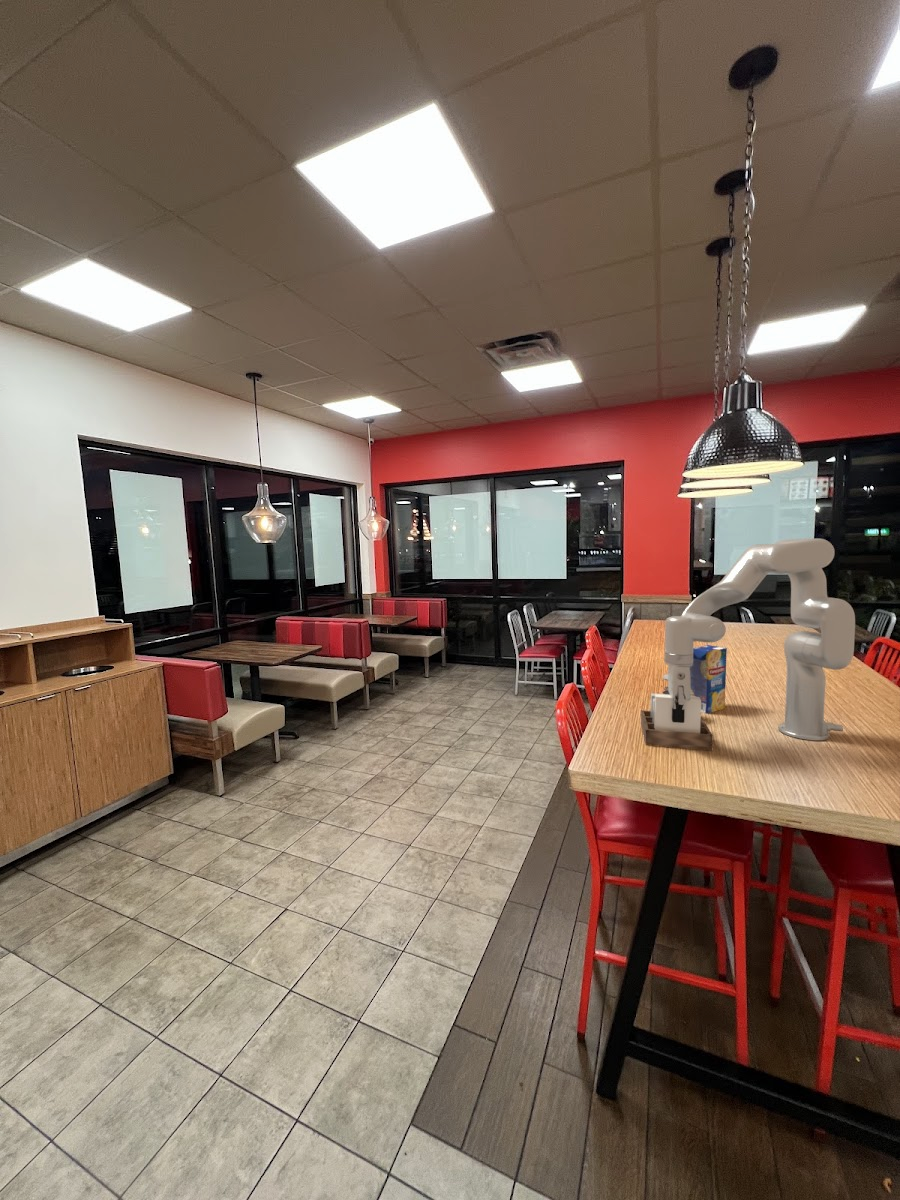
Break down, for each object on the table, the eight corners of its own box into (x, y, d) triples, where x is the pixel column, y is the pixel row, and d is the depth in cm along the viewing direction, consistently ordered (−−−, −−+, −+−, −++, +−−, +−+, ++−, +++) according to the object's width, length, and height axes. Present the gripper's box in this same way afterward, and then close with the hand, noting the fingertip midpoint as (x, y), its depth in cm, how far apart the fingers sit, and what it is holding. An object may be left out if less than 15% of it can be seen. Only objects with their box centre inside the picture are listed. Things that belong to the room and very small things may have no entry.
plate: (698, 730, 140) (699, 697, 139) (700, 733, 137) (701, 699, 136) (654, 726, 143) (654, 694, 142) (655, 729, 141) (655, 696, 140)
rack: (699, 728, 152) (699, 714, 152) (712, 750, 135) (712, 735, 134) (640, 723, 157) (640, 710, 157) (645, 744, 140) (645, 729, 140)
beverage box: (724, 708, 171) (726, 647, 169) (706, 713, 165) (708, 651, 163) (706, 703, 177) (708, 645, 175) (688, 708, 171) (689, 648, 169)
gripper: (698, 665, 129) (696, 731, 131) (687, 653, 145) (686, 712, 146) (668, 664, 132) (666, 728, 133) (661, 652, 147) (659, 710, 149)
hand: (677, 719), depth 140 cm, fingers closed on plate, 2 cm apart
